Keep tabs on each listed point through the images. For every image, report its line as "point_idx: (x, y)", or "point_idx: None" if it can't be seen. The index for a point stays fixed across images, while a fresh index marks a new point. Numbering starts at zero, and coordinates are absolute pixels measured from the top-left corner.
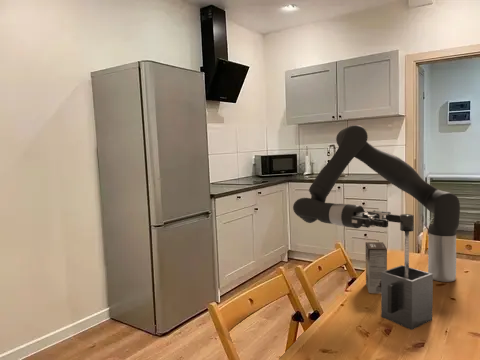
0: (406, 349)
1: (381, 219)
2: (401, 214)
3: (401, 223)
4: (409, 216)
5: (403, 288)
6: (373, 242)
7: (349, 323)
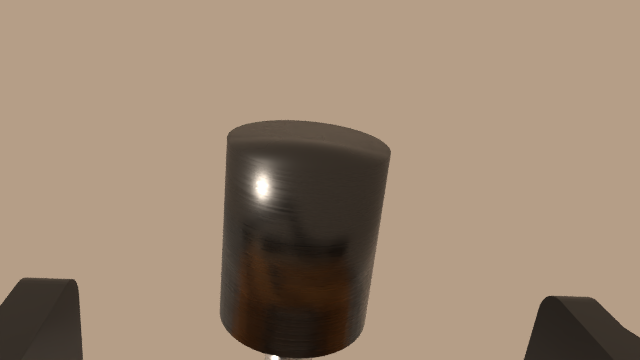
0: None
1: (636, 352)
2: (305, 167)
3: (372, 255)
4: (355, 130)
5: None
6: None
7: None
